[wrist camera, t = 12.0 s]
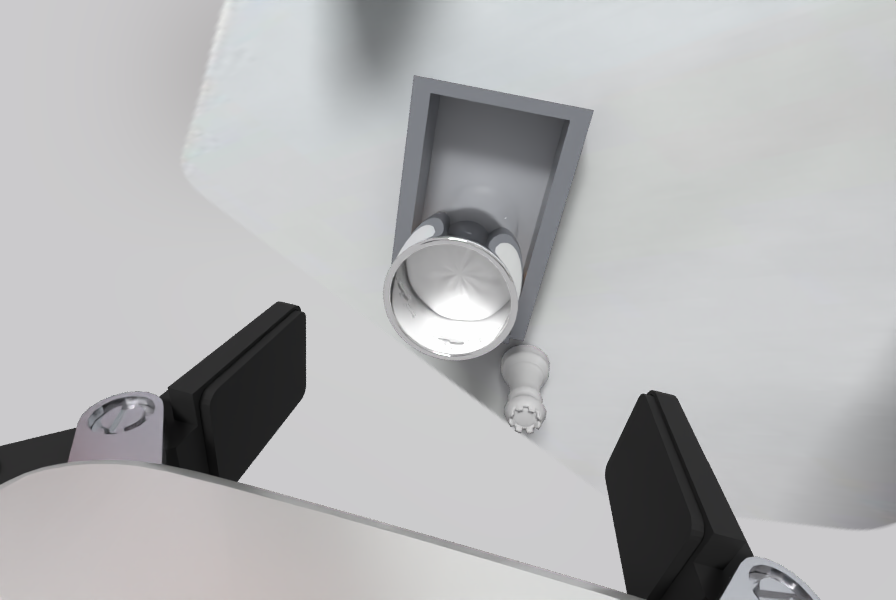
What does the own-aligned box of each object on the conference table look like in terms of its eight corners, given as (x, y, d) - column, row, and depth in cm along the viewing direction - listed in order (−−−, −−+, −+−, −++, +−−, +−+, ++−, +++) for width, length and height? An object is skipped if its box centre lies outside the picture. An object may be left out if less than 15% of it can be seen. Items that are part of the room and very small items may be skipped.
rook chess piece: (520, 332, 37) (518, 387, 30) (559, 359, 38) (567, 418, 31) (491, 365, 39) (483, 423, 32) (529, 389, 40) (530, 452, 33)
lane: (585, 109, 29) (596, 110, 24) (523, 317, 36) (523, 347, 32) (427, 78, 30) (410, 74, 25) (399, 288, 37) (382, 314, 33)
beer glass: (473, 278, 35) (442, 386, 22) (419, 215, 34) (350, 290, 20) (541, 229, 32) (553, 318, 19) (486, 158, 31) (456, 200, 18)
